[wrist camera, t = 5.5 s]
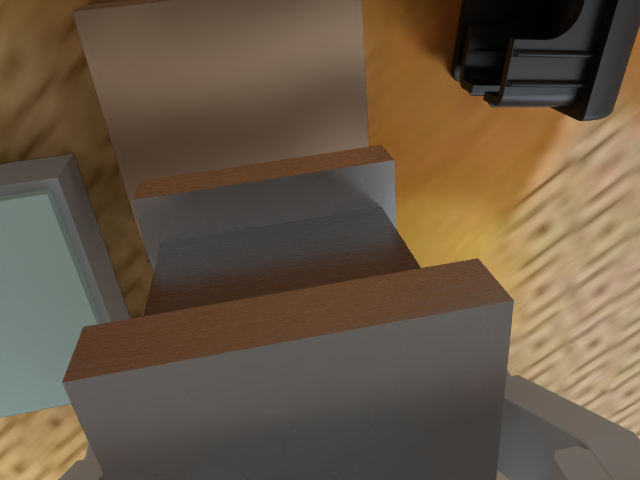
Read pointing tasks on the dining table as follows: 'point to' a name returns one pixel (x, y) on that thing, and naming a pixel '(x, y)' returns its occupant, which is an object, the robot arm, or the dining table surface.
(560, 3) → the end cap
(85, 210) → the stand
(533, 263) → the dining table surface
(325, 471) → the block
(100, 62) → the stand
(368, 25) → the dining table surface
